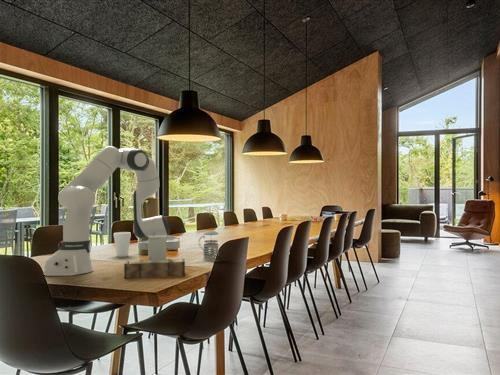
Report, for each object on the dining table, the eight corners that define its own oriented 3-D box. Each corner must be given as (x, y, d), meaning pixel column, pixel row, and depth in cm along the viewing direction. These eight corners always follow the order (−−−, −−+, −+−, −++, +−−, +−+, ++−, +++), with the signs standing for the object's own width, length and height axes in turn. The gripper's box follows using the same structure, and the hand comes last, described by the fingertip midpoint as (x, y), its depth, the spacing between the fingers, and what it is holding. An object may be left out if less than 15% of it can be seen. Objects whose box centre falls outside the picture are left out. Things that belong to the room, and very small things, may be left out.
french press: (217, 260, 221) (217, 212, 221) (196, 260, 223) (195, 212, 223) (222, 257, 231) (222, 211, 231) (202, 257, 233) (201, 211, 233)
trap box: (124, 278, 178) (124, 262, 178) (126, 274, 186) (126, 259, 186) (184, 275, 182) (184, 260, 182) (184, 272, 190) (184, 257, 190)
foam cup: (121, 257, 235) (121, 234, 235) (110, 256, 240) (109, 233, 240) (134, 255, 243) (134, 232, 244) (123, 254, 248) (123, 231, 248)
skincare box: (148, 271, 194) (148, 236, 194) (147, 268, 200) (147, 235, 200) (166, 270, 196) (166, 236, 196) (165, 267, 202) (165, 234, 202)
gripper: (139, 237, 218) (136, 241, 205) (179, 236, 222) (179, 239, 208) (139, 250, 218) (136, 254, 205) (180, 248, 222) (179, 252, 208)
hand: (158, 246), depth 206 cm, fingers closed
